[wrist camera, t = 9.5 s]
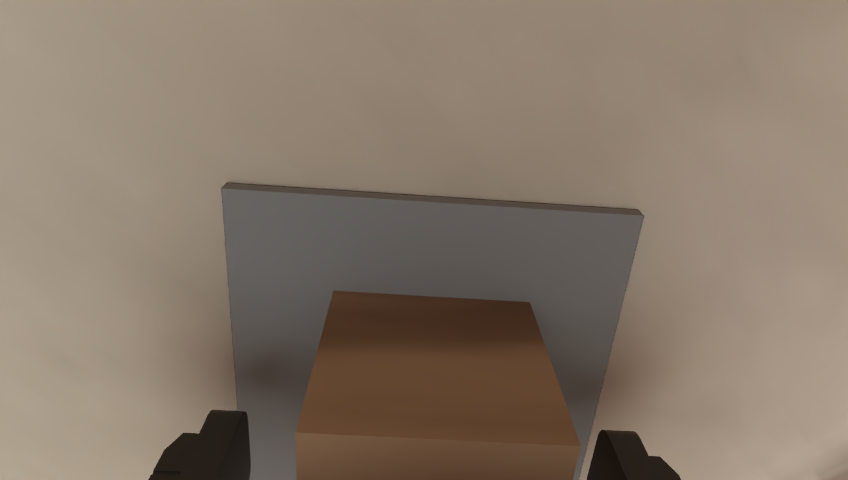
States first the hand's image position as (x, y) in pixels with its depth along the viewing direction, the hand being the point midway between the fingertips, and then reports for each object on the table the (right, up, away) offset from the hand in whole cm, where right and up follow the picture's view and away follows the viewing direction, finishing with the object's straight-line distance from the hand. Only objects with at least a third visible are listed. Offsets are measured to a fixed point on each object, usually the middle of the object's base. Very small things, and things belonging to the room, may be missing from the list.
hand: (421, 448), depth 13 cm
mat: (0, +1, +3) cm, 3 cm away
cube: (0, +1, +2) cm, 3 cm away
